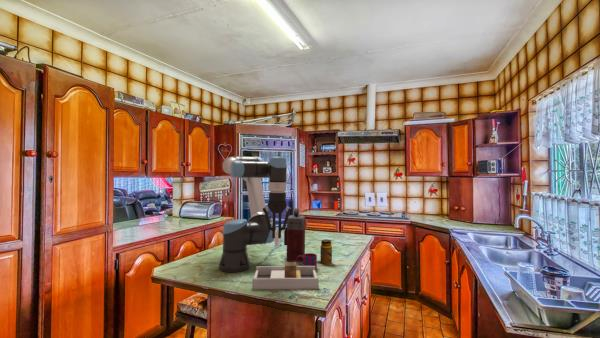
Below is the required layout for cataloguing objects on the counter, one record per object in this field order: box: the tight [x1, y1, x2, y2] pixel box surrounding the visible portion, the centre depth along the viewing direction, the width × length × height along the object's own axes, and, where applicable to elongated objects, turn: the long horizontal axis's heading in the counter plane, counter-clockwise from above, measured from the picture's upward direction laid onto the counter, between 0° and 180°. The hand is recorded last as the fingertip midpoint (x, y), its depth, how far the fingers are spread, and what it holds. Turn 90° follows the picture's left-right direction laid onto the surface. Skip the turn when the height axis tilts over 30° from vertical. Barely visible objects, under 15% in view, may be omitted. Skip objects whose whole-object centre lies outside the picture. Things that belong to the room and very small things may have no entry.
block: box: [284, 261, 297, 278], centre depth 121 cm, size 5×5×5 cm
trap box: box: [251, 265, 320, 290], centre depth 121 cm, size 27×16×4 cm, turn 93°
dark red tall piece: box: [283, 207, 306, 263], centre depth 154 cm, size 9×11×28 cm
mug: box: [296, 252, 318, 271], centre depth 138 cm, size 7×10×7 cm
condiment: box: [317, 239, 335, 267], centre depth 146 cm, size 7×8×12 cm
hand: (276, 245), depth 121 cm, fingers closed
